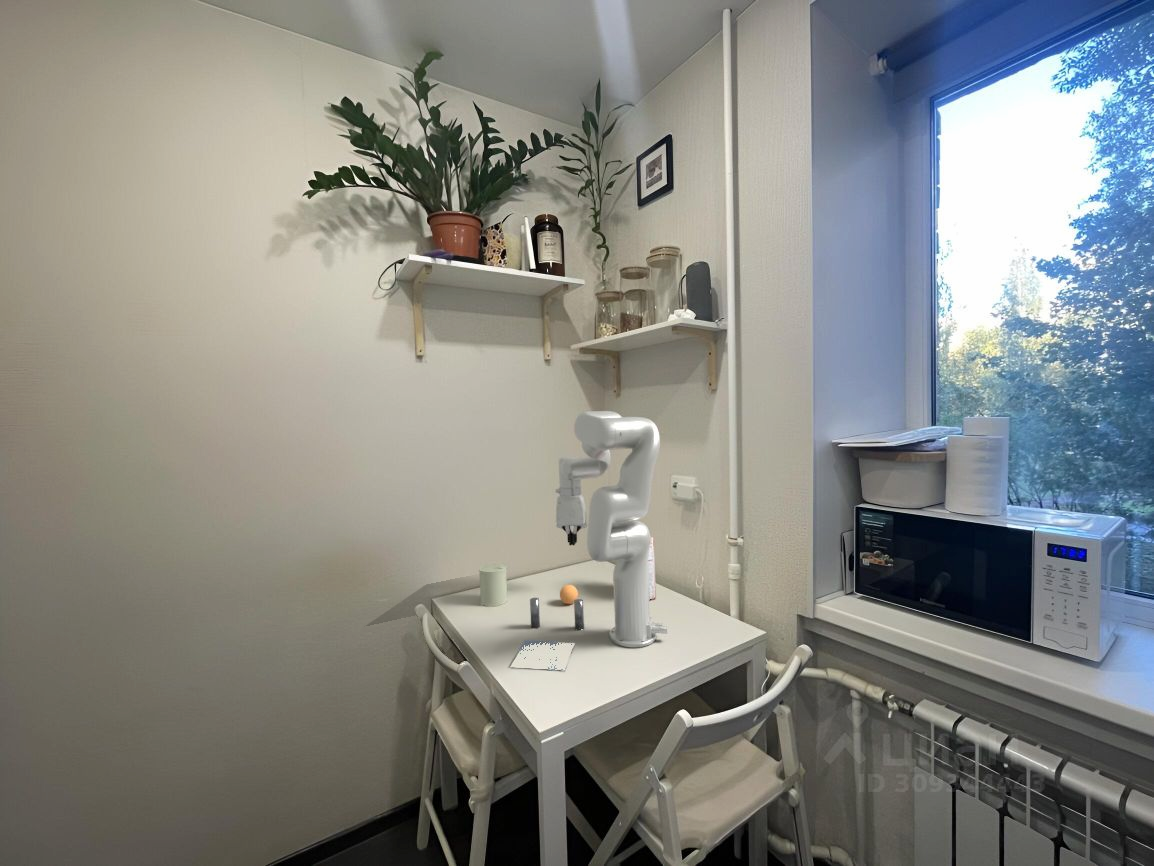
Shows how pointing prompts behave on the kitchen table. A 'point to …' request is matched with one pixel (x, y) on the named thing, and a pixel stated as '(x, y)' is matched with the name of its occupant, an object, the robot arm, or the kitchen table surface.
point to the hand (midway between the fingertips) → (572, 544)
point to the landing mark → (528, 642)
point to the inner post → (579, 614)
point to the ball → (568, 594)
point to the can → (493, 584)
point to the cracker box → (651, 571)
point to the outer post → (534, 612)
